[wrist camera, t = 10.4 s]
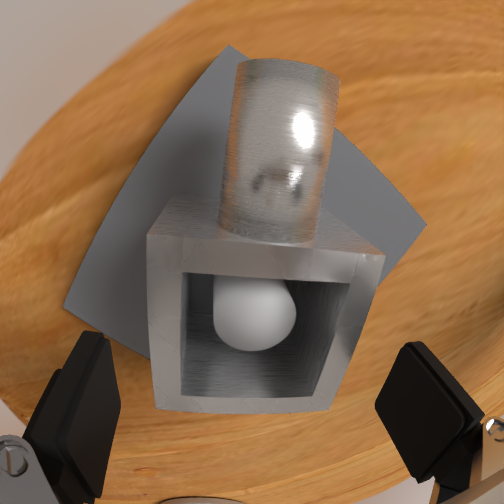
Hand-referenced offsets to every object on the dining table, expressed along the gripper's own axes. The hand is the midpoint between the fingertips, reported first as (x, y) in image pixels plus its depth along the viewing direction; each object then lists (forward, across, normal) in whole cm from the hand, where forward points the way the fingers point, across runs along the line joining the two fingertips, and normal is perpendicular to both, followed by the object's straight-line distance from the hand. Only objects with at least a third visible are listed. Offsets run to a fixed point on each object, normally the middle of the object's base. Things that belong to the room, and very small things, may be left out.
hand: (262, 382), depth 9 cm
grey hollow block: (+7, 0, -3) cm, 8 cm away
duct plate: (+9, 0, -1) cm, 9 cm away
